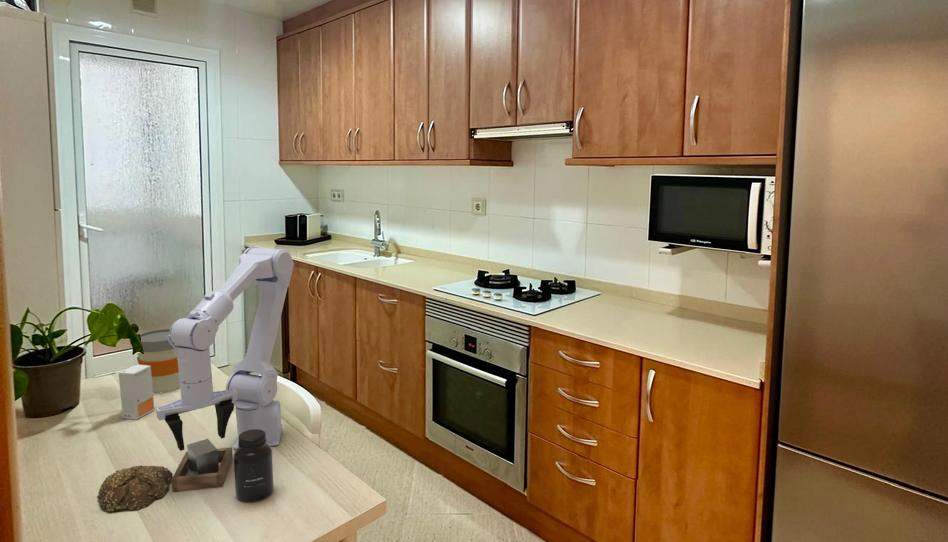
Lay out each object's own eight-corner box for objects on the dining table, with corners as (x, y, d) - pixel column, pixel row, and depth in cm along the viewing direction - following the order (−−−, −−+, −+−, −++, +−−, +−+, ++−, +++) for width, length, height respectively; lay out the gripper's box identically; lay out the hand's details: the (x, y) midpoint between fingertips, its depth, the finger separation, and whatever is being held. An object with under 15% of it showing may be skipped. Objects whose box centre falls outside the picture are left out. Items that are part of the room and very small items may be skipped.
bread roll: (106, 483, 113) (103, 460, 112) (175, 471, 117) (173, 449, 116) (88, 520, 101) (85, 495, 100) (167, 506, 105) (164, 482, 104)
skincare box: (137, 420, 139) (132, 373, 137) (122, 418, 140) (117, 372, 138) (155, 410, 145) (151, 365, 143) (141, 408, 146) (136, 363, 143)
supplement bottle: (251, 507, 105) (247, 447, 102) (228, 495, 108) (223, 437, 106) (281, 489, 110) (278, 432, 108) (258, 479, 114) (255, 423, 112)
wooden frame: (232, 458, 122) (232, 447, 121) (222, 486, 111) (221, 474, 111) (187, 462, 120) (186, 451, 119) (172, 491, 109) (171, 479, 109)
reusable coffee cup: (183, 374, 168) (179, 326, 166) (195, 388, 159) (190, 336, 156) (135, 385, 161) (129, 333, 158) (144, 399, 151) (138, 345, 148)
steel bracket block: (189, 471, 117) (186, 444, 115) (210, 465, 119) (207, 438, 118) (198, 484, 112) (196, 456, 111) (219, 477, 115) (217, 449, 114)
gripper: (227, 364, 119) (231, 424, 122) (149, 381, 110) (156, 446, 113) (239, 373, 114) (243, 436, 117) (158, 392, 105) (165, 460, 107)
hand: (201, 442), depth 114 cm, fingers open, 7 cm apart
